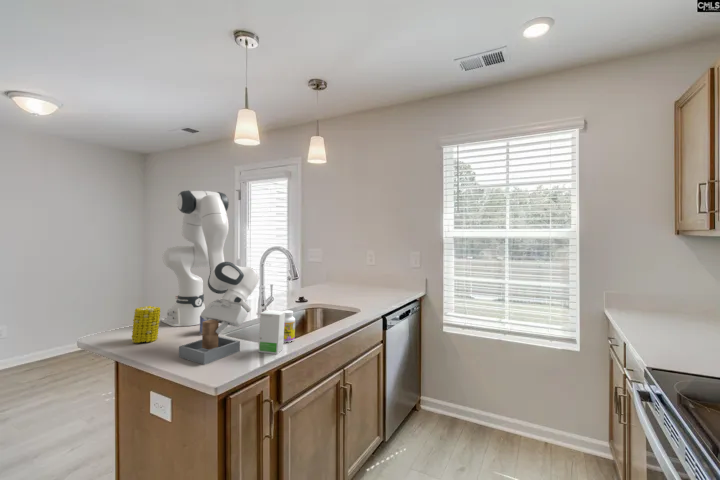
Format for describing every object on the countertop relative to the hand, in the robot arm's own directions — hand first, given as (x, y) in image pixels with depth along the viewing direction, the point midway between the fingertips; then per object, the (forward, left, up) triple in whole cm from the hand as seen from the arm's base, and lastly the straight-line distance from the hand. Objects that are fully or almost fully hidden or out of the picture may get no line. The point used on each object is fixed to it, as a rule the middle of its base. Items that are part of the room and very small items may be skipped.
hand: (211, 331), depth 129 cm
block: (0, 0, -6) cm, 6 cm away
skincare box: (+17, +15, -9) cm, 24 cm away
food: (-36, -3, -9) cm, 37 cm away
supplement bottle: (+14, +28, -9) cm, 32 cm away
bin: (0, 0, -8) cm, 8 cm away
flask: (-25, +18, -9) cm, 32 cm away
